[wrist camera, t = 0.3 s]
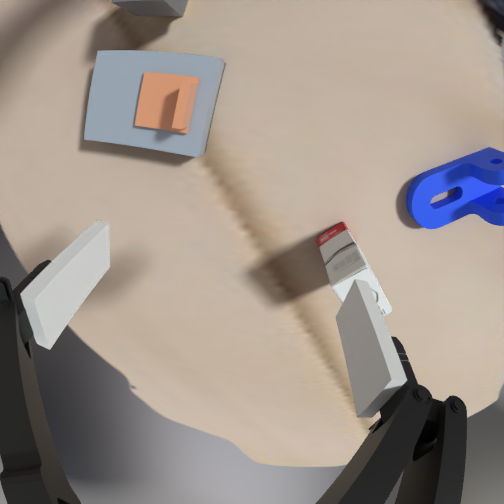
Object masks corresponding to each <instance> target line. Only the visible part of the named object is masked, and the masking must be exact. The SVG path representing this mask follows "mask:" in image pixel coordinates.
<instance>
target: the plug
mask: <svg viewBox="0 0 504 504" xmlns="http://www.w3.org/2000/svg"><path fill="white" fill-rule="evenodd" d="M112 3H114V4H116V5H118V6H120V7H122V8H123V9H125V10H127V11H129V12H131V13H133V14H135V15H137V16H175V17H183V16H184V13H185V10H186V7H187V4H188V0H112Z"/></svg>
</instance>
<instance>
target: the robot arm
mask: <svg viewBox="0 0 504 504" xmlns="http://www.w3.org/2000/svg"><path fill="white" fill-rule="evenodd" d="M109 268H110V249H109V223H107V222H103V221H98V220H97V221H96V222H95V223H93V224H92V225H91V226H90V227H89V228H88V229H86V230H85V231H84V232H83V233H82V234H81V235H80V236H79V237H77V238H76V239H75V240H74V241H73V242H72V243H71V244H70V245H69V246H68V247H67V248H65V249H64V250H63V251H62V252H61V253H60V254H59V255H58V256H57V257H56V258H55V259H54V260H53V261H50V260H47V261H45V262H43V263H41V264H39V265H38V266H37V267H36V268H35V269H34V270H33V272H31V273H30V274H29V275H28V277H26V278H25V279H24V280H23V281H22V282H21V283H20V284H19V285H18V286H17V287H16V288H15V289H14V290H13V291H12V288H11V284H10V281H9V280H8V279H7V278H5V277H0V455H1V459H2V463H3V467H4V469H3V472H1V474H0V481H1V485H2V488H3V492H4V495H5V497H6V500H7V503H8V504H81V502H80V500H79V499H78V497H77V495H76V494H75V492H74V491H73V490H72V488H71V486H70V485H69V483H68V480H67V478H66V475H65V473H64V470H63V468H62V465H61V463H60V460H59V457H58V454H57V452H56V449H55V446H54V443H53V440H52V437H51V433H50V430H49V427H48V423H47V420H46V416H45V412H44V409H43V405H42V401H41V396H40V392H39V388H38V383H37V378H36V372H35V367H34V361H33V354H32V348H31V343H30V341H29V340H30V338H31V337H32V335H34V337H35V340H36V342H37V344H39V345H41V346H43V347H45V348H48V349H51V347H52V346H53V344H54V343H55V341H56V340H57V338H58V337H59V335H60V334H61V332H62V331H63V330H64V328H65V327H66V325H67V324H68V322H69V321H70V320H71V318H72V317H73V315H74V314H75V312H76V311H77V310H78V308H79V307H80V306H81V304H82V303H83V301H84V300H85V299H86V297H87V296H88V295H89V293H90V292H91V291H92V289H93V288H94V287H95V285H96V284H97V283H98V282H99V280H100V279H101V278H102V276H103V275H104V274H105V273H106V271H107V270H108V269H109ZM336 321H337V325H338V329H339V333H340V338H341V342H342V346H343V351H344V355H345V359H346V364H347V369H348V373H349V378H350V383H351V387H352V392H353V397H354V403H355V408H356V413H357V417H373V416H374V415H375V414H376V413H377V412H378V411H379V410H380V414H381V418H380V419H379V420H378V421H376V422H375V423H374V424H373V425H372V426H371V427H370V428H369V430H371V429H372V430H371V431H370V433H369V434H368V436H367V438H366V439H365V441H364V442H363V443H362V445H361V446H360V448H359V449H358V451H357V452H356V454H355V455H354V456H353V458H352V459H351V460H350V462H349V463H348V464H347V466H346V467H345V468H344V470H343V471H342V472H341V474H340V475H339V476H338V478H337V479H336V480H335V481H334V483H333V484H332V485H331V486H330V487H329V489H328V490H327V491H326V492H325V494H324V495H323V496H322V497H321V498H320V499H319V501H318V502H317V503H316V504H384V503H385V501H386V500H387V498H388V497H389V495H390V493H391V491H392V489H393V488H394V486H395V484H396V483H397V481H398V479H399V477H400V475H401V473H402V471H403V470H404V472H403V476H402V480H401V484H400V487H399V491H398V495H397V498H396V501H395V504H460V502H461V496H462V489H463V481H464V471H465V458H466V440H467V410H466V406H465V404H464V402H463V401H462V400H461V399H460V398H458V397H457V396H449V397H448V398H447V399H446V400H445V401H444V402H443V401H439V400H436V399H433V398H432V395H431V393H430V392H429V390H428V389H426V388H425V387H424V386H422V385H418V383H417V380H416V378H415V375H414V372H413V370H412V367H411V365H410V362H408V357H407V355H406V352H405V350H404V347H403V345H402V344H401V342H400V341H399V340H398V339H397V338H396V337H391V336H390V333H389V331H388V328H387V326H386V323H385V321H384V319H383V316H382V314H381V312H380V309H379V307H378V305H377V302H376V300H375V298H374V295H373V293H372V291H371V289H370V287H369V284H368V282H367V281H363V280H359V279H354V281H353V284H352V286H351V288H350V290H349V292H348V294H347V296H346V298H345V300H344V302H343V304H342V306H341V308H340V310H339V312H338V314H337V316H336Z"/></svg>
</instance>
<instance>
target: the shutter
mask: <svg viewBox="0 0 504 504" xmlns="http://www.w3.org/2000/svg"><path fill="white" fill-rule="evenodd" d="M199 80H200V78H198V77H191V76H183V75H174V74H165V73H154V72H144V77H143V82H142V87H141V92H140V97H139V102H138V108H137V114H136V120H135V126H142V127H149V128H156V129H163V130H169V131H175V132H181V133H188V131H189V126H190V121H191V116H192V111H193V106H194V102H195V97H196V93H197V89H198V84H199Z"/></svg>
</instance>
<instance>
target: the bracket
mask: <svg viewBox="0 0 504 504" xmlns="http://www.w3.org/2000/svg"><path fill="white" fill-rule="evenodd" d="M501 185H504V152H501V151H498V150H496V149H493V148H490V147H489V148H486V149H483V150H481V151H478V152H475V153H473V154H470V155H467V156H465V157H462V158H460V159H457V160H454V161H452V162H449V163H446V164H444V165H441V166H439V167H436V168H433V169H431V170H428V171H426V172H423V173H421V174H420V175H418V176H417V177H416V178H415V179H414V180H413V182H412V183H411V185H410V187H409V189H408V193H407V199H406V202H407V208H408V211H409V213H410V215H411V216H412V218H413V219H414V220H415V221H416V222H417V223H419V224H420V225H421V226H422V227H424V228H427V229H436V228H439V227H441V226H444V225H446V224H448V223H450V222H453V221H455V220H457V219H459V218H461V217H464V216H466V215H468V214H477V215H479V216H480V217H481V218H483V219H484V220H485V221H487V222H488V223H491V224H493V225H499V226H504V188H503V187H501ZM455 187H456V192H455V193H454V194H453V195H452V196H449V197H447V198H444V199H442V200H440V201H437V202H435V203H433V204H430V201H431V199H432V198H433V197H434V196H436V195H438V194H440V193H443V192H445V191H448V190H450V189H452V188H455Z"/></svg>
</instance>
